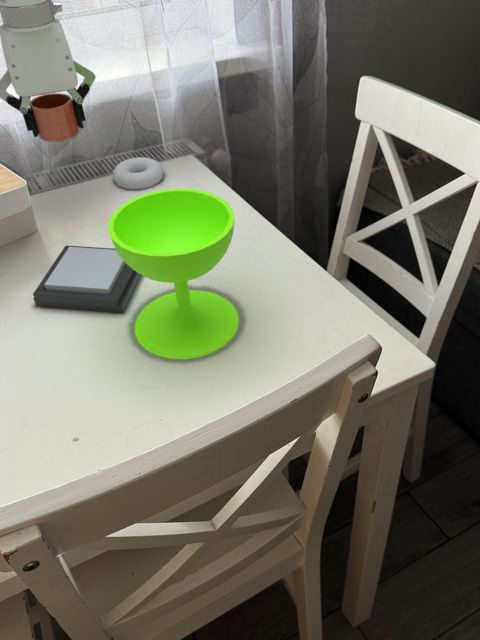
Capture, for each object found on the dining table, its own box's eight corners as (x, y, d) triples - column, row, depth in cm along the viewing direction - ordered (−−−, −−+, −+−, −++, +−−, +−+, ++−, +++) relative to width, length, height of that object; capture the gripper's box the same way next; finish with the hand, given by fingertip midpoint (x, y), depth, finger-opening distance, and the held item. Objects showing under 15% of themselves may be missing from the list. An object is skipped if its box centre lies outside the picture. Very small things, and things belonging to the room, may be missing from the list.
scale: (35, 311, 91) (29, 293, 89) (67, 262, 100) (62, 245, 98) (123, 318, 90) (119, 300, 87) (147, 267, 99) (144, 250, 96)
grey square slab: (47, 292, 90) (44, 284, 89) (71, 254, 97) (69, 246, 96) (110, 297, 89) (108, 289, 88) (130, 258, 96) (128, 250, 95)
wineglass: (172, 281, 96) (155, 179, 83) (260, 309, 90) (256, 204, 78) (110, 342, 86) (81, 236, 73) (205, 378, 80) (190, 270, 68)
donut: (126, 168, 125) (106, 190, 118) (123, 152, 122) (102, 174, 115) (171, 172, 123) (153, 195, 116) (169, 156, 121) (151, 179, 113)
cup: (32, 141, 101) (22, 108, 97) (47, 124, 105) (38, 92, 102) (71, 142, 100) (62, 109, 96) (84, 125, 105) (77, 93, 101)
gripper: (80, 1, 95) (103, 112, 107) (-35, 15, 90) (3, 130, 102) (89, 13, 90) (112, 128, 102) (-32, 29, 85) (7, 148, 97)
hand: (57, 128), depth 102 cm, fingers closed on cup, 7 cm apart
